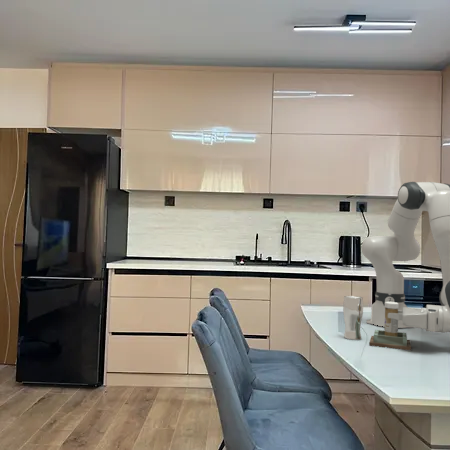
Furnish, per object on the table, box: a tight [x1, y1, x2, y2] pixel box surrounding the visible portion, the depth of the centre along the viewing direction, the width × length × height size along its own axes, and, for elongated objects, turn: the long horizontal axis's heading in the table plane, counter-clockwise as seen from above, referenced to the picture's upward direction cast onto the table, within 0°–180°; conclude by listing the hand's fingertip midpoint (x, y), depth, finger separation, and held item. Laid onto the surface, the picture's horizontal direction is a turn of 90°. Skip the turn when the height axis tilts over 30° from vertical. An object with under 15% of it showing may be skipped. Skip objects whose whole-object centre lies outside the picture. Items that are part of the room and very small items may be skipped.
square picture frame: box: [368, 329, 412, 351], centre depth 146 cm, size 13×13×4 cm
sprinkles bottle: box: [383, 302, 399, 337], centre depth 147 cm, size 5×5×13 cm
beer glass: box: [342, 295, 364, 341], centre depth 154 cm, size 7×7×15 cm
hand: (387, 314), depth 147 cm, fingers closed on sprinkles bottle, 4 cm apart
